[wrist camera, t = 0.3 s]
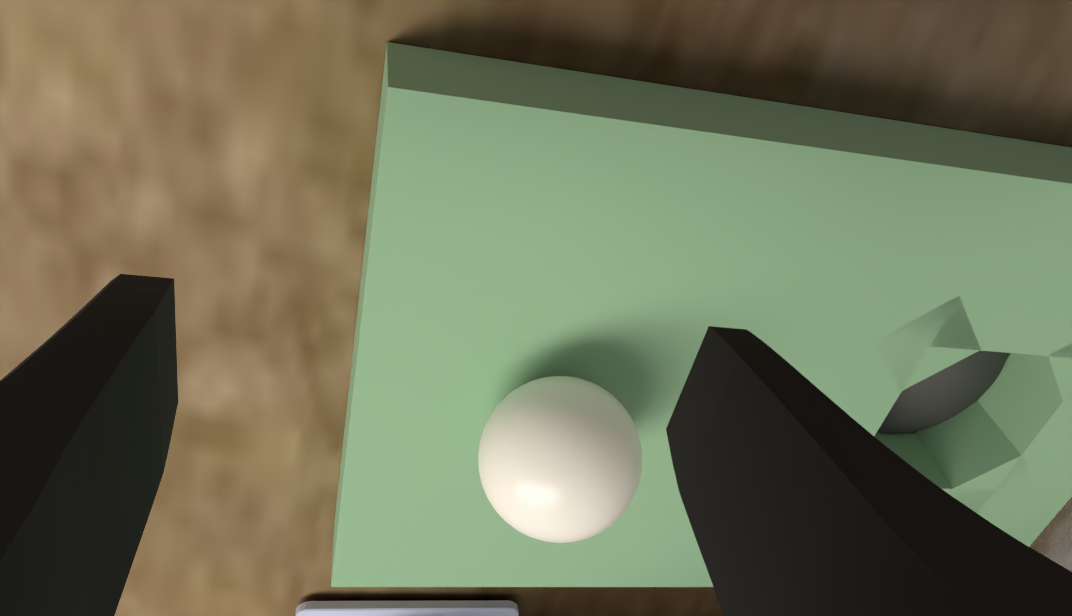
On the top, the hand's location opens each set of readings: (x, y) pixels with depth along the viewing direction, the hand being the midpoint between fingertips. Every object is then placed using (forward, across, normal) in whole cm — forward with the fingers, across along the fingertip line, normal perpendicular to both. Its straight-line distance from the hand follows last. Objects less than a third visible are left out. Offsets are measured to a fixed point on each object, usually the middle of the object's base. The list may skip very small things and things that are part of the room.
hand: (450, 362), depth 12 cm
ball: (+5, -4, +7) cm, 10 cm away
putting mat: (+10, -11, +7) cm, 16 cm away
